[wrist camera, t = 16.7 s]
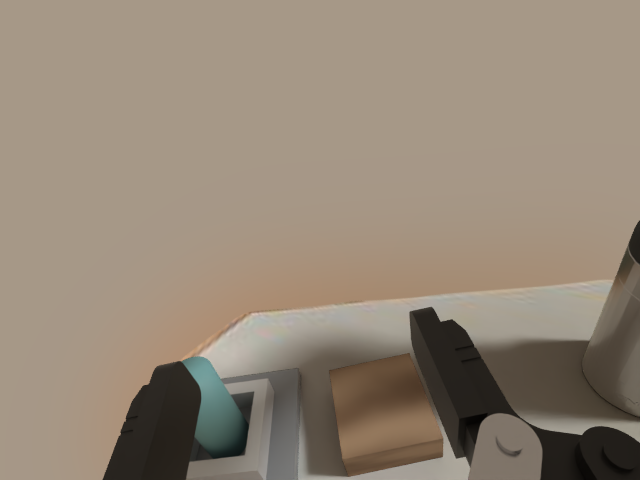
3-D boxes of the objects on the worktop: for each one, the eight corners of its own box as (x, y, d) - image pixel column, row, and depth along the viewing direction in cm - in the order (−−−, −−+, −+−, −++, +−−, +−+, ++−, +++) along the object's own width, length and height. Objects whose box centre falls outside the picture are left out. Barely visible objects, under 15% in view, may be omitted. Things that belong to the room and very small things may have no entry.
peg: (230, 409, 42) (191, 349, 35) (258, 429, 39) (222, 368, 33) (199, 447, 39) (150, 389, 32) (228, 471, 36) (181, 413, 29)
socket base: (189, 389, 47) (176, 370, 45) (300, 374, 46) (292, 354, 43) (142, 536, 34) (119, 521, 32) (296, 521, 33) (284, 504, 30)
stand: (334, 388, 43) (329, 370, 41) (410, 372, 43) (409, 353, 41) (348, 476, 35) (342, 459, 33) (442, 456, 35) (443, 438, 33)
